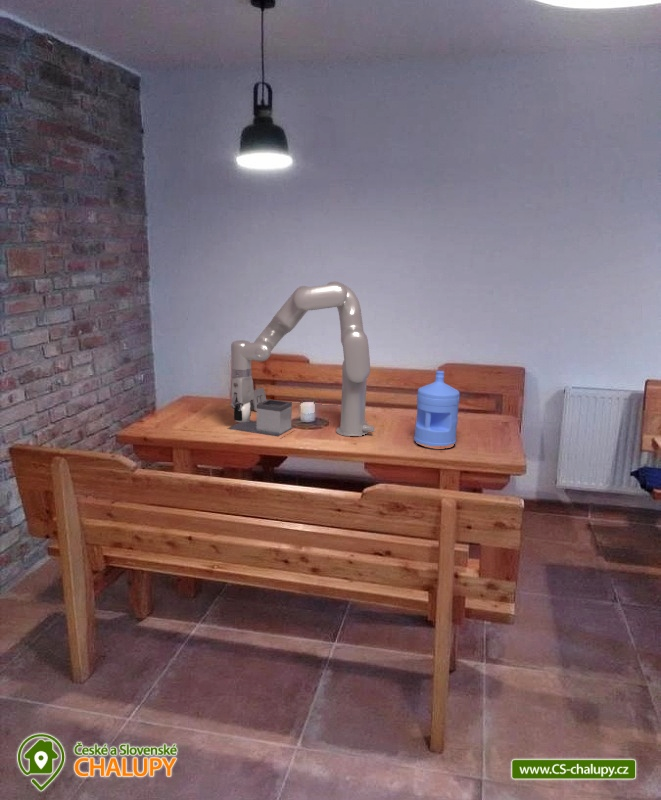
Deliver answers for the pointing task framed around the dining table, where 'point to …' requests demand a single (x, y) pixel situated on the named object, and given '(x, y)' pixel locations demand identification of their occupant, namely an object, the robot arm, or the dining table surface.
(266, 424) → the grey box
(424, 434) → the water jug
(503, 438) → the dining table surface
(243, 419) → the pump
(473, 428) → the dining table surface
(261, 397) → the electrical switch
